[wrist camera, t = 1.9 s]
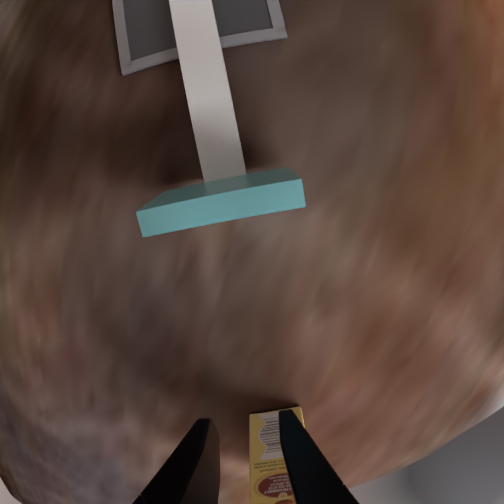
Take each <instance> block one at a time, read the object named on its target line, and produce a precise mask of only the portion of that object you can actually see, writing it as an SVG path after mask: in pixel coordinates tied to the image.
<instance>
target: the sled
mask: <svg viewBox="0 0 504 504" xmlns="http://www.w3.org/2000/svg"><path fill="white" fill-rule="evenodd" d="M169 4H170V10H171V16H172V21H173V27H174V33H175V38H176V44H177V49H178V55H179V60H180V65H181V71H182V76H183V81H184V86H185V91H186V96H187V101H188V106H189V111H190V116H191V121H192V126H193V131H194V136H195V141H196V146H197V150H198V155H199V160H200V164H201V169H202V174H203V178H204V183H200V184H195V185H190V186H186V187H181V188H177V189H172V190H168V191H164V192H163V193H162V194H160V195H159V196H157V197H156V198H154V199H153V200H152V201H150V202H149V203H147V204H146V205H145V206H143V207H142V208H140V209H139V210H138V211H136V214H137V218H138V222H139V225H140V229H141V232H142V236H143V237H148V236H153V235H157V234H162V233H167V232H172V231H177V230H182V229H187V228H192V227H197V226H202V225H208V224H213V223H218V222H223V221H229V220H234V219H239V218H245V217H250V216H256V215H262V214H267V213H273V212H279V211H284V210H290V209H296V208H302V207H306V205H305V198H304V191H303V185H302V179H301V178H300V177H299V176H298V175H297V174H296V173H295V172H294V171H292V170H291V169H290V168H289V167H284V168H278V169H272V170H267V171H261V172H255V173H250V174H247V173H246V168H245V163H244V158H243V153H242V148H241V142H240V137H239V132H238V127H237V122H236V117H235V112H234V107H233V102H232V97H231V92H230V87H229V82H228V77H227V72H226V67H225V63H224V58H223V53H222V48H221V43H220V38H219V33H218V28H217V24H216V19H215V14H214V9H213V4H212V0H169Z"/></svg>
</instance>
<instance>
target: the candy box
mask: <svg viewBox="0 0 504 504" xmlns="http://www.w3.org/2000/svg"><path fill="white" fill-rule="evenodd" d="M288 409H292V410H293V411H294V413H295V414H296V416H297V417H298V419H299V420H300V422H301V423H302V425H303V426H304V428H305V425H304V420H303V415H302V410H301V407H300V406H299V407H293V408H288ZM282 410H285V409H282ZM279 411H280V410H276V411H270V412H264V413H256V414H250V415H249V479H250V504H295V500H294V497H293V493H292V489H291V485H290V482H289V478H288V474H287V470H286V466H285V462H284V458H283V454H282V449H281V445H280V436H279V416H278V412H279Z"/></svg>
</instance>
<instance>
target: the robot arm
mask: <svg viewBox="0 0 504 504" xmlns="http://www.w3.org/2000/svg"><path fill="white" fill-rule="evenodd" d="M278 416H279V436H280V445H281V449H282V454H283V458H284V462H285V466H286V470H287V474H288V478H289V482H290V485H291V489H292V493H293V497H294V500H295V504H359V503H358V502H357V500H356V499H355V498H354V496H353V495H352V494H351V493H350V491H349V490H348V488H347V487H346V486H345V485H343V482H342V480H341V479H340V478H339V476H338V475H337V473H336V472H335V471H334V469H333V468H332V466H331V465H330V464H329V462H328V461H327V459H326V458H325V457H324V455H323V454H322V452H321V451H320V449H319V448H318V447H317V445H316V444H315V442H314V441H313V439H312V438H311V436H310V435H309V433H308V432H307V430H306V429H305V428H304V426H303V425H302V423H301V422H300V420H299V419H298V417H297V416H296V414H295V413H294V411H293V410H292V409H285V410H280V411H279V412H278ZM219 487H220V451H219V434H218V432H217V429H216V427H215V425H214V423H213V420H212V419H211V418H200V419H198V420H197V421H196V422H195V423H194V425H193V426H192V428H191V429H190V430H189V432H188V433H187V434H186V436H185V437H184V438H183V440H182V441H181V442H180V444H179V445H178V446H177V448H176V449H175V450H174V452H173V453H172V454H171V455H170V457H169V458H168V459H167V461H166V462H165V463H164V465H163V466H162V467H161V468H160V470H159V471H158V472H157V474H156V475H155V476H154V477H153V479H152V480H151V481H150V482H149V484H148V485H147V486H146V487H145V489H144V490H143V491H142V492H141V495H139V496H138V497H137V499H136V500H135V501H134V502H133V503H132V504H218V496H219Z"/></svg>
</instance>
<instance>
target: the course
mask: <svg viewBox="0 0 504 504" xmlns="http://www.w3.org/2000/svg"><path fill="white" fill-rule="evenodd" d="M112 4H113V13H114V22H115V30H116V38H117V45H118V52H119V59H120V65H121V71H122V75H123V76H125V75H128V74H131V73H134V72H137V71H140V70H143V69H146V68H149V67H152V66H156V65H159V64H162V63H166V62H169V61H173V60H177V59H179V55H178V49H177V44H176V38H175V33H174V27H173V21H172V16H171V10H170V4H169V0H112ZM212 4H213V9H214V14H215V19H216V24H217V28H218V33H219V38H220V43H221V48H222V49H223V48H228V47H234V46H239V45H245V44H251V43H257V42H264V41H271V40H278V39H287V32H286V28H285V24H284V20H283V16H282V12H281V8H280V4H279V0H212Z"/></svg>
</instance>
